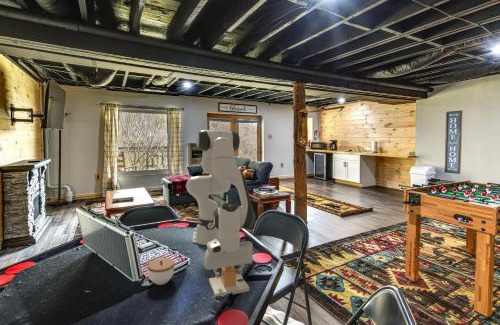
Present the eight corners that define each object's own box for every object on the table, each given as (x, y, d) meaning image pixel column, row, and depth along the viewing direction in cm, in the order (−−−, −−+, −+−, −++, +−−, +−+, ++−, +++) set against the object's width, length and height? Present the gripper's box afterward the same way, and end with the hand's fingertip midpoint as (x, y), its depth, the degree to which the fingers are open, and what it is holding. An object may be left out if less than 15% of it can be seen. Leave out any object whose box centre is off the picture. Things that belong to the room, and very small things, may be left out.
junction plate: (208, 281, 114) (208, 269, 113) (239, 276, 119) (240, 264, 118) (215, 297, 103) (215, 284, 102) (249, 291, 108) (249, 278, 107)
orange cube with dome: (221, 280, 112) (221, 265, 111) (232, 278, 114) (232, 263, 113) (224, 287, 107) (224, 271, 107) (236, 285, 109) (236, 269, 108)
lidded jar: (149, 290, 107) (149, 268, 106) (146, 277, 116) (146, 257, 115) (176, 284, 111) (176, 262, 111) (171, 272, 121) (171, 252, 120)
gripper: (250, 237, 116) (249, 268, 117) (203, 243, 108) (203, 275, 110) (255, 243, 110) (254, 275, 111) (206, 249, 102) (206, 283, 104)
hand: (228, 275), depth 110 cm, fingers open, 8 cm apart
